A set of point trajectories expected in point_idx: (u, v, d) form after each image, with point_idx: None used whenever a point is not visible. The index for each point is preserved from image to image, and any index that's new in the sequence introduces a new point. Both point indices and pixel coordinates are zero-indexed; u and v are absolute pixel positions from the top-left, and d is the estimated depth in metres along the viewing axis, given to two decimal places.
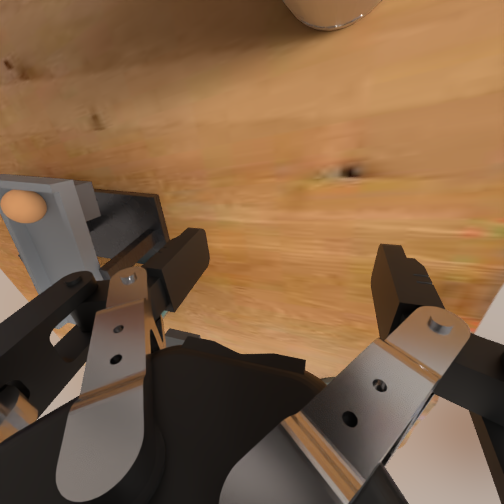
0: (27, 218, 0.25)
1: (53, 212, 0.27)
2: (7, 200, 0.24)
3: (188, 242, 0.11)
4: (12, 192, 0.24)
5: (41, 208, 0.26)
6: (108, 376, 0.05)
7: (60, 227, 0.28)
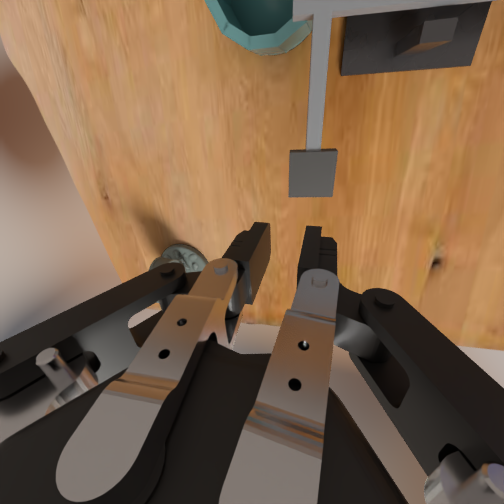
0: None
1: None
2: None
3: (262, 236, 0.11)
4: None
5: None
6: (150, 368, 0.05)
7: None
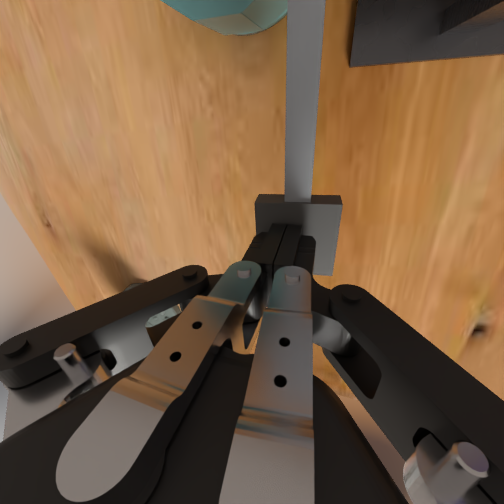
0: None
1: None
2: None
3: (281, 237, 0.11)
4: None
5: None
6: (159, 370, 0.05)
7: None
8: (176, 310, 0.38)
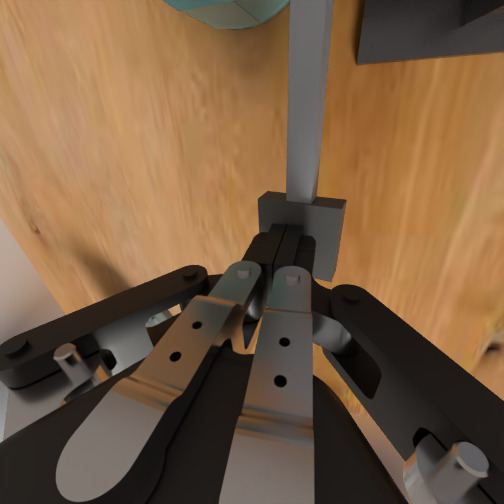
0: None
1: None
2: None
3: (281, 237, 0.11)
4: None
5: None
6: (160, 370, 0.05)
7: None
8: None
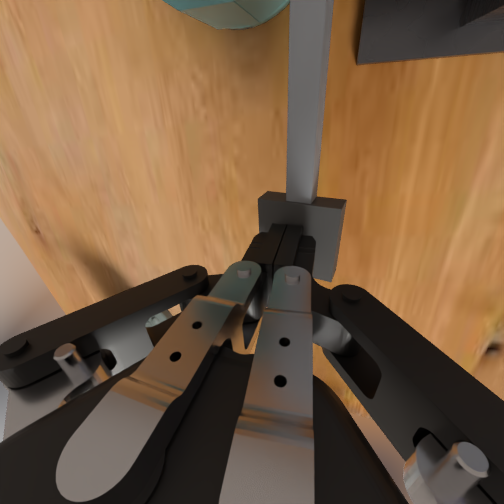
0: None
1: None
2: None
3: (281, 237, 0.11)
4: None
5: None
6: (160, 370, 0.05)
7: None
8: None
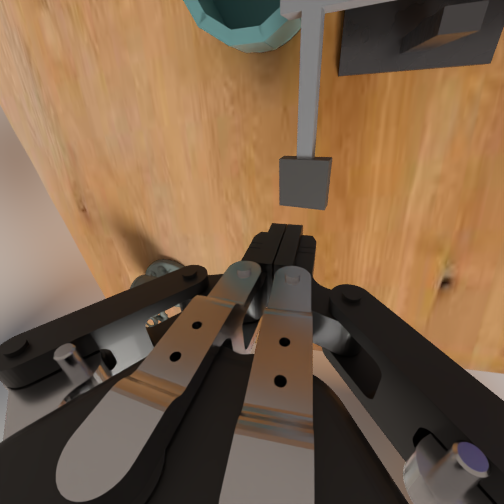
0: None
1: None
2: None
3: (281, 237, 0.11)
4: None
5: None
6: (160, 370, 0.05)
7: None
8: None
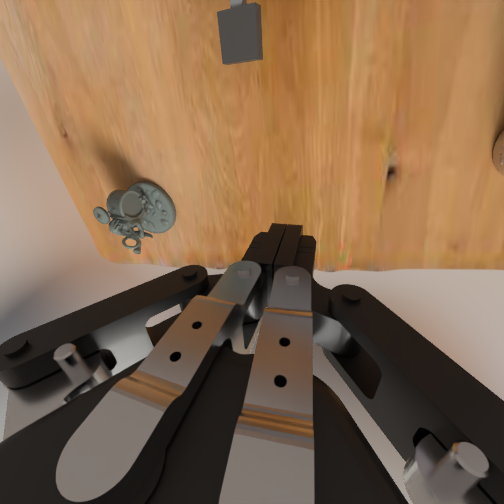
0: None
1: None
2: None
3: (281, 237, 0.11)
4: None
5: None
6: (160, 370, 0.05)
7: None
8: (171, 202, 0.48)
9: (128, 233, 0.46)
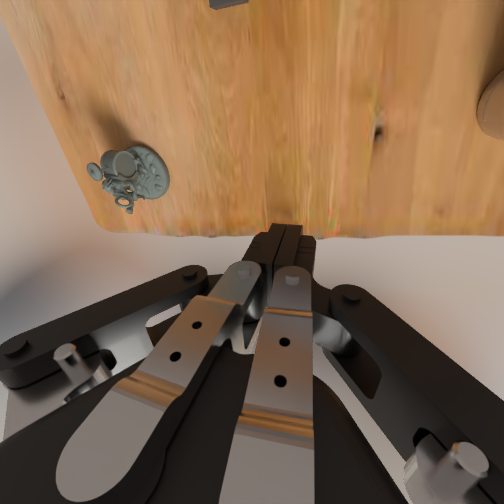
0: None
1: None
2: None
3: (281, 237, 0.11)
4: None
5: None
6: (160, 370, 0.05)
7: None
8: (164, 167, 0.49)
9: (121, 194, 0.47)
